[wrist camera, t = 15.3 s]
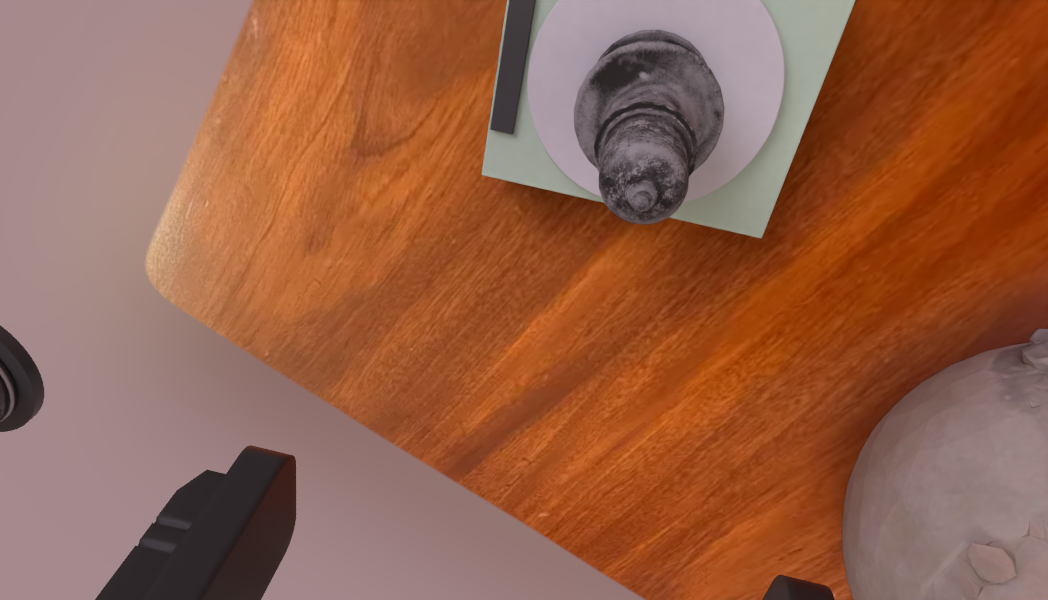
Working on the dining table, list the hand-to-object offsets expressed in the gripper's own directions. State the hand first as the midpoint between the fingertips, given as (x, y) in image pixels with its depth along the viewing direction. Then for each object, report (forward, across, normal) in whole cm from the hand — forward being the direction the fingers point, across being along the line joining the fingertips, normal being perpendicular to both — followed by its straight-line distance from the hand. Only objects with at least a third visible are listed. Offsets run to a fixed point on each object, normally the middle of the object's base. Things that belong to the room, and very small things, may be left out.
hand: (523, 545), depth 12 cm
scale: (+28, -2, -1) cm, 28 cm away
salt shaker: (+24, -2, -1) cm, 24 cm away
